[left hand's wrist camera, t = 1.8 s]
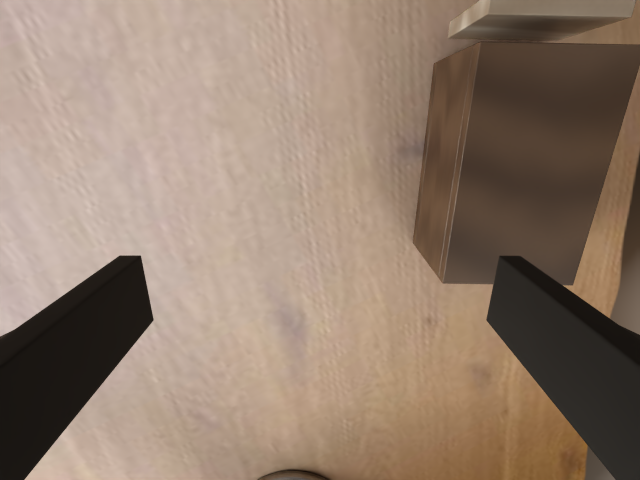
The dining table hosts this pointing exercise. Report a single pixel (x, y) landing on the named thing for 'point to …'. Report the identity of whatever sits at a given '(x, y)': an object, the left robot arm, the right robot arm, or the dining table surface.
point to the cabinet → (518, 154)
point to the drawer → (536, 18)
